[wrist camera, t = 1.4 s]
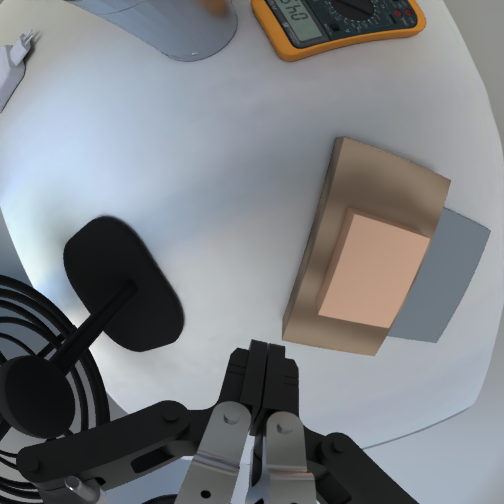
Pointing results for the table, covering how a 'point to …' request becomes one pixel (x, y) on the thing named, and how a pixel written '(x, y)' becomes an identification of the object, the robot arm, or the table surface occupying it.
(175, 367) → the table surface
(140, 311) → the desk fan
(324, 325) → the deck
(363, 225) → the tile
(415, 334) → the mat
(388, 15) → the multimeter
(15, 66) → the charger
